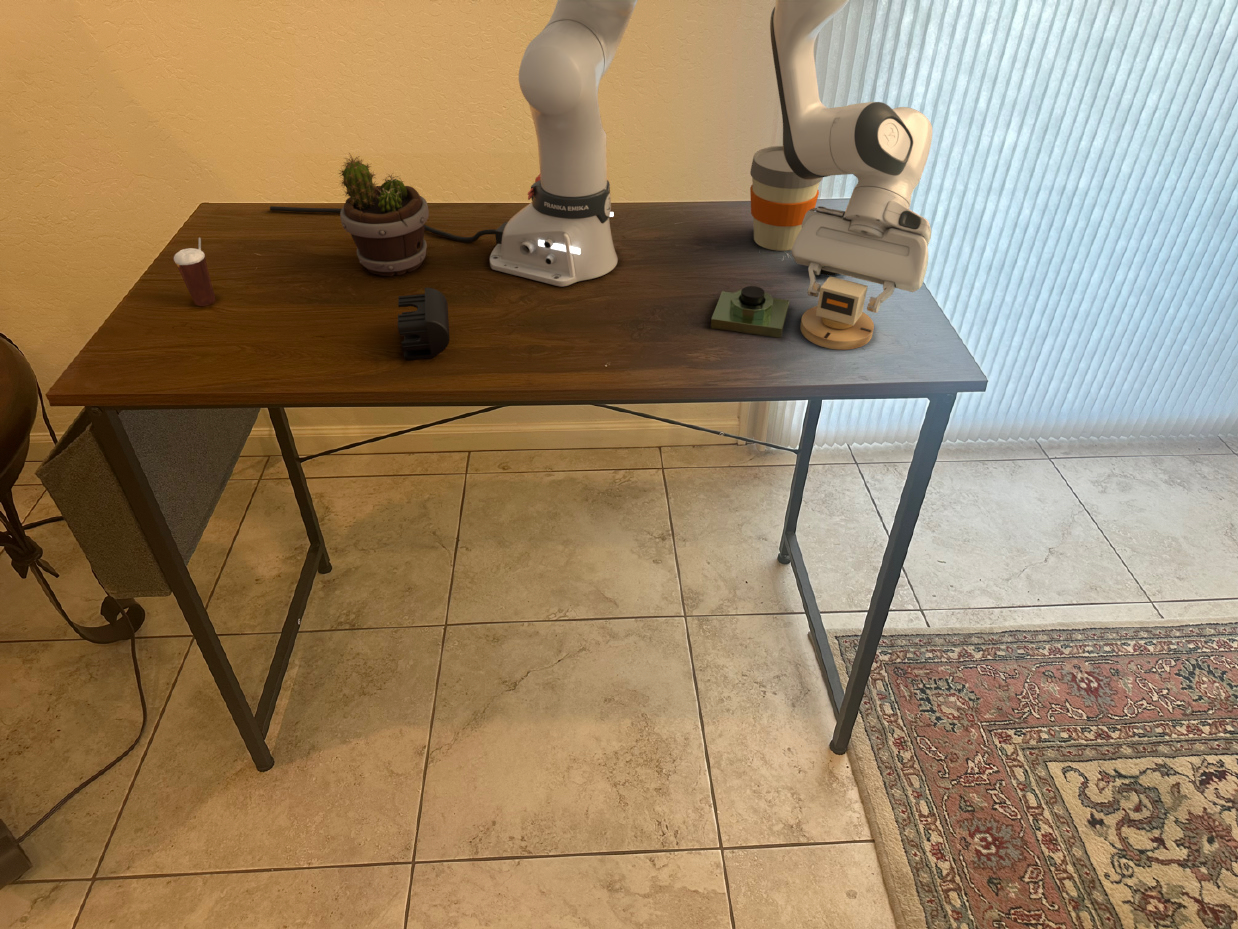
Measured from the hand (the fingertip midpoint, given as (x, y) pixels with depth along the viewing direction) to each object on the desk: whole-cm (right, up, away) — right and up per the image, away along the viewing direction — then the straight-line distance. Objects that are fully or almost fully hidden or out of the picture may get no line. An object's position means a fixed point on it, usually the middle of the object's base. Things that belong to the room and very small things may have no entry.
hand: (841, 302), depth 131 cm
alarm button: (-13, +1, +4) cm, 14 cm away
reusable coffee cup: (-5, +17, +27) cm, 32 cm away
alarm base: (-13, -1, +6) cm, 14 cm away
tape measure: (+3, +9, +18) cm, 21 cm away
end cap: (-63, -6, +1) cm, 64 cm away
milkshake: (-102, +2, +12) cm, 103 cm away
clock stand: (0, -4, +3) cm, 5 cm away
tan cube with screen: (0, -2, +2) cm, 3 cm away
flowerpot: (-74, +11, +21) cm, 77 cm away
